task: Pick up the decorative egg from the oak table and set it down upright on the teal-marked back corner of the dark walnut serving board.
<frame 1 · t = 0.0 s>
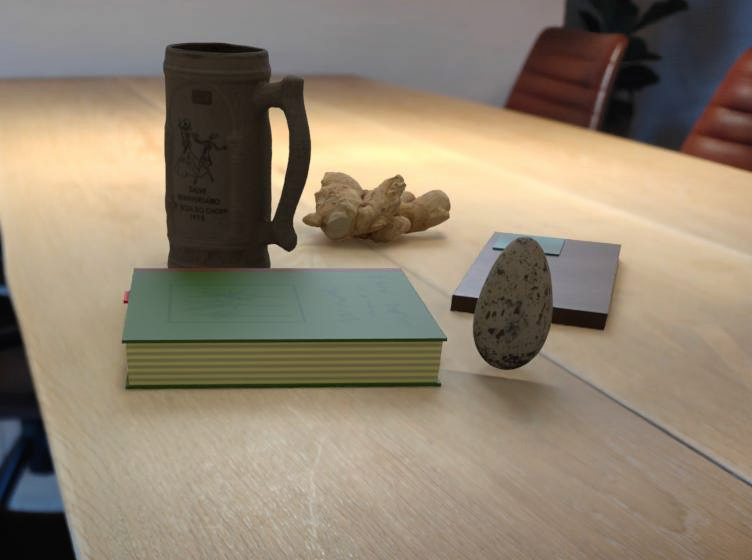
hardcover book: (271, 347, 77), on the table
ginger root: (364, 238, 107), on the table
beer stein: (240, 274, 94), on the table
serving board: (541, 282, 93), on the table
decorative egg: (503, 370, 74), on the table
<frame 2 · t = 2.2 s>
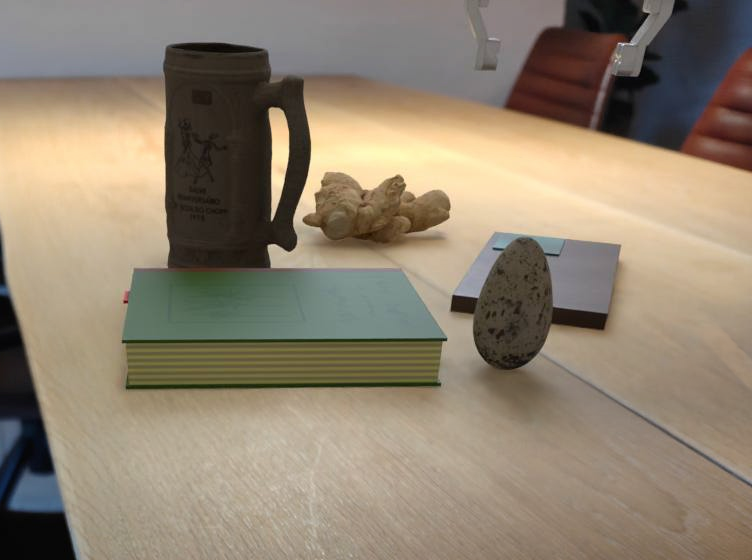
hand: (554, 72, 61), 20 cm above the table, tool pointing down, fingers open, 8 cm apart
nothing on the table moved.
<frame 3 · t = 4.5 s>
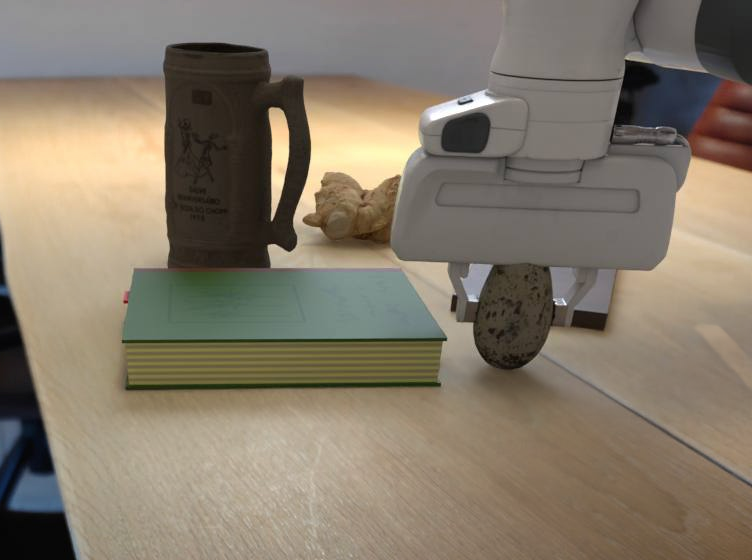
hand: (511, 322, 71), 4 cm above the table, tool pointing down, fingers closed on decorative egg, 6 cm apart
decorative egg: (503, 370, 74), on the table, touching gripper
everything else where it was.
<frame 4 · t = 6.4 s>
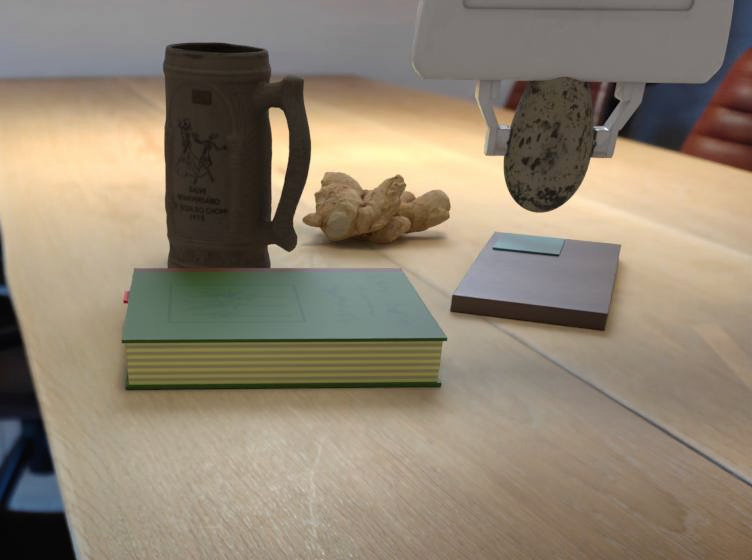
hand: (546, 155, 64), 15 cm above the table, tool pointing down, fingers closed on decorative egg, 6 cm apart
decorative egg: (537, 214, 67), point 12 cm above the table, touching gripper
everything else where it was.
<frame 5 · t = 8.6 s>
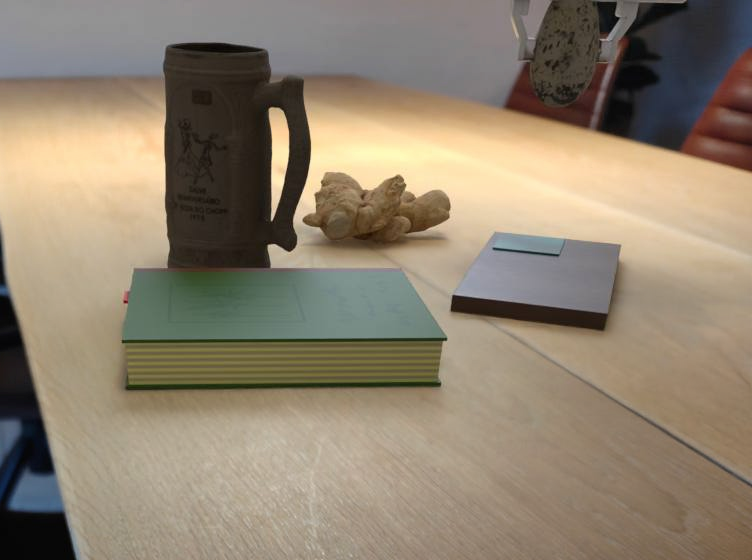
hand: (562, 61, 84), 19 cm above the table, tool pointing down, fingers closed on decorative egg, 6 cm apart
decorative egg: (554, 109, 86), point 15 cm above the table, touching gripper
everything else where it was.
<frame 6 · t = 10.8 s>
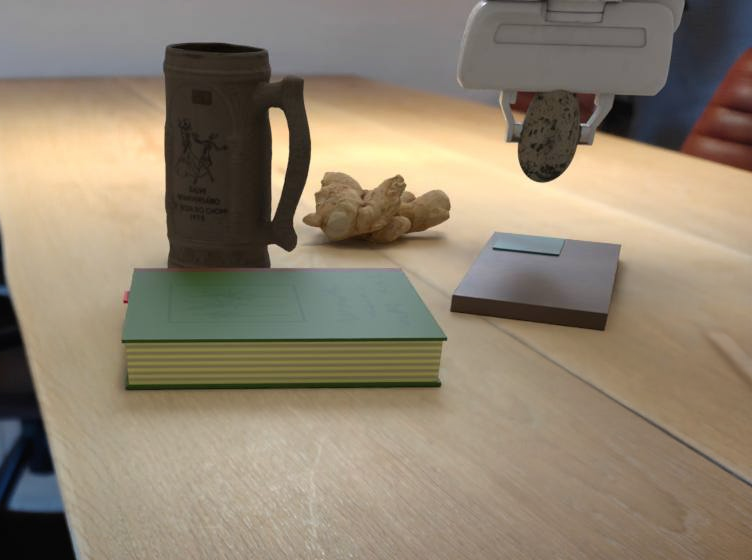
hand: (547, 143, 93), 11 cm above the table, tool pointing down, fingers closed on decorative egg, 6 cm apart
decorative egg: (540, 184, 96), point 8 cm above the table, touching gripper
everything else where it was.
when the fingers open (5 cm above the table, at t = 12.8 s): decorative egg stays where it is, resting on serving board.
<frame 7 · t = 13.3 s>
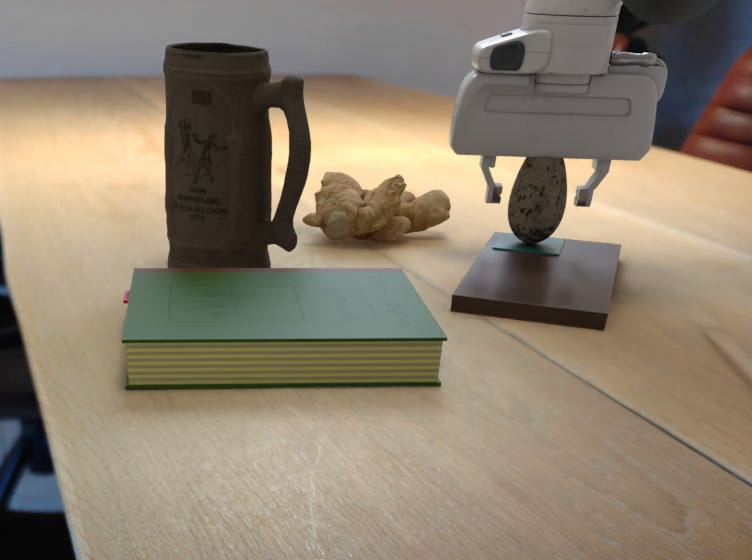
hand: (536, 204, 97), 6 cm above the table, tool pointing down, fingers open, 8 cm apart
decorative egg: (529, 244, 99), point 2 cm above the table, touching serving board
everything else where it was.
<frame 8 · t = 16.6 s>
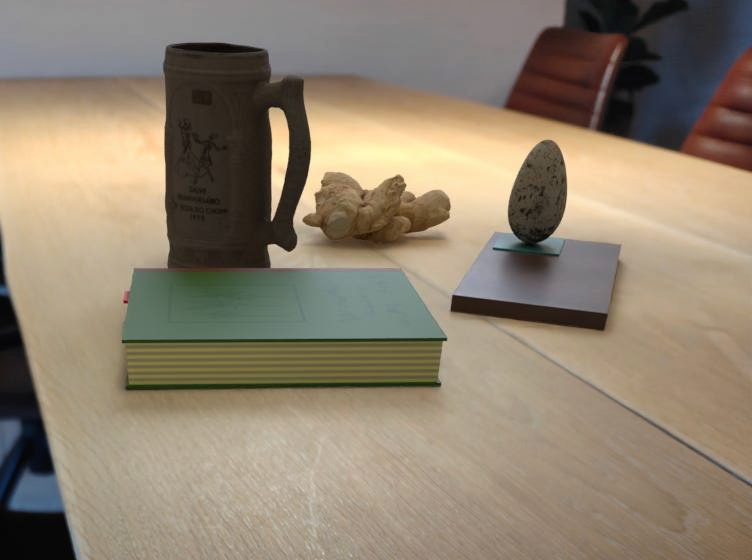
nothing on the table moved.
at the end: decorative egg inside the target area on the serving board (0.2 cm from its centre), point 1.5 cm above the serving board's base; decorative egg tilted 0°; the gripper is holding nothing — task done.
